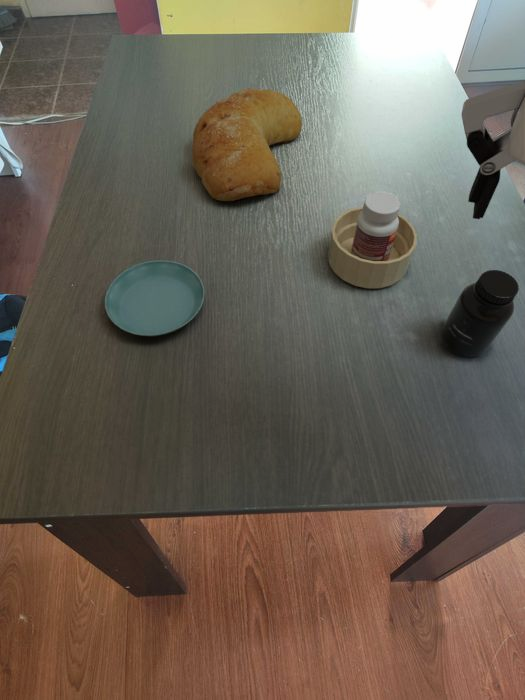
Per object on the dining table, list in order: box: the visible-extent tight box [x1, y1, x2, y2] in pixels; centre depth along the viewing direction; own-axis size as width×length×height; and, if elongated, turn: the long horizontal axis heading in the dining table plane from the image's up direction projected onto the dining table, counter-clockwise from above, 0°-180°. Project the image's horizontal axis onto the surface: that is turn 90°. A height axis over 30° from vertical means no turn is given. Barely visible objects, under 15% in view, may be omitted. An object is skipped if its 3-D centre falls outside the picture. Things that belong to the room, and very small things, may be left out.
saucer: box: [104, 259, 206, 337], centre depth 70 cm, size 15×15×3 cm
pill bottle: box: [351, 190, 401, 261], centre depth 71 cm, size 6×6×11 cm
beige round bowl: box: [327, 205, 418, 289], centre depth 74 cm, size 13×13×6 cm
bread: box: [191, 88, 303, 202], centre depth 89 cm, size 32×20×10 cm, turn 165°
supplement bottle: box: [440, 269, 520, 358], centre depth 63 cm, size 7×7×12 cm
